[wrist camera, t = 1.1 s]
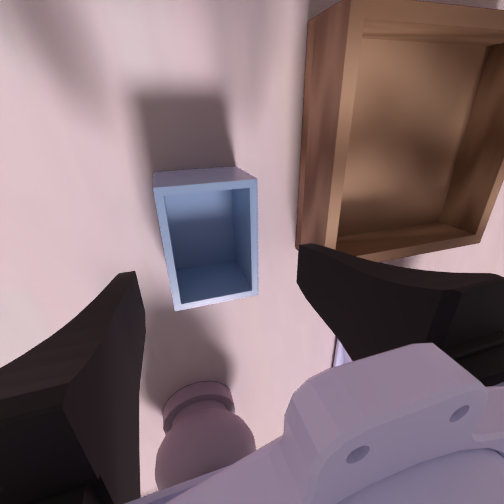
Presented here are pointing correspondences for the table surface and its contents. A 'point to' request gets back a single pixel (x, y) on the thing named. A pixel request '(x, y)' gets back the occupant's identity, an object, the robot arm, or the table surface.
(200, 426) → the grey rounded bulbous piece
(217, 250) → the blue crate
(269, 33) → the table surface
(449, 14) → the tray
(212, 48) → the table surface
